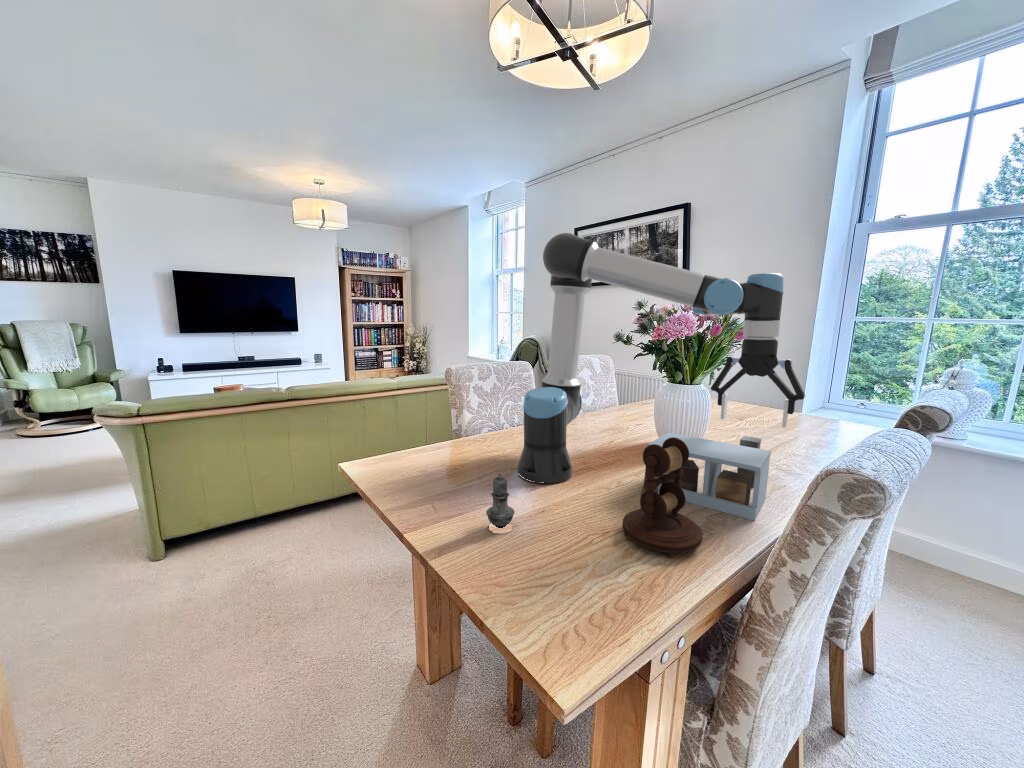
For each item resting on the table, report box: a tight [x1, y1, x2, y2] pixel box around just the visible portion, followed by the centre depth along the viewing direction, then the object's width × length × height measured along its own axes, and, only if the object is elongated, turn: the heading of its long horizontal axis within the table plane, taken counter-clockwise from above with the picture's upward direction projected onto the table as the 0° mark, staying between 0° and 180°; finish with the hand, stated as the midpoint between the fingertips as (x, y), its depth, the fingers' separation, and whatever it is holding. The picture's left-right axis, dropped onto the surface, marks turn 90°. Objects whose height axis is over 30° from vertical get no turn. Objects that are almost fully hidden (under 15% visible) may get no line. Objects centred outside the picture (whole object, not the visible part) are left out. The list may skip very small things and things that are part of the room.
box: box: [668, 459, 700, 493], centre depth 101 cm, size 6×6×7 cm
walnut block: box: [714, 435, 762, 506], centre depth 99 cm, size 6×21×12 cm, turn 140°
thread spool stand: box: [622, 437, 703, 559], centre depth 79 cm, size 15×15×20 cm
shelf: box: [647, 432, 772, 522], centre depth 99 cm, size 24×14×12 cm, turn 50°
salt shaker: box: [485, 473, 515, 528], centre depth 84 cm, size 6×6×12 cm
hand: (752, 422), depth 103 cm, fingers open, 13 cm apart
